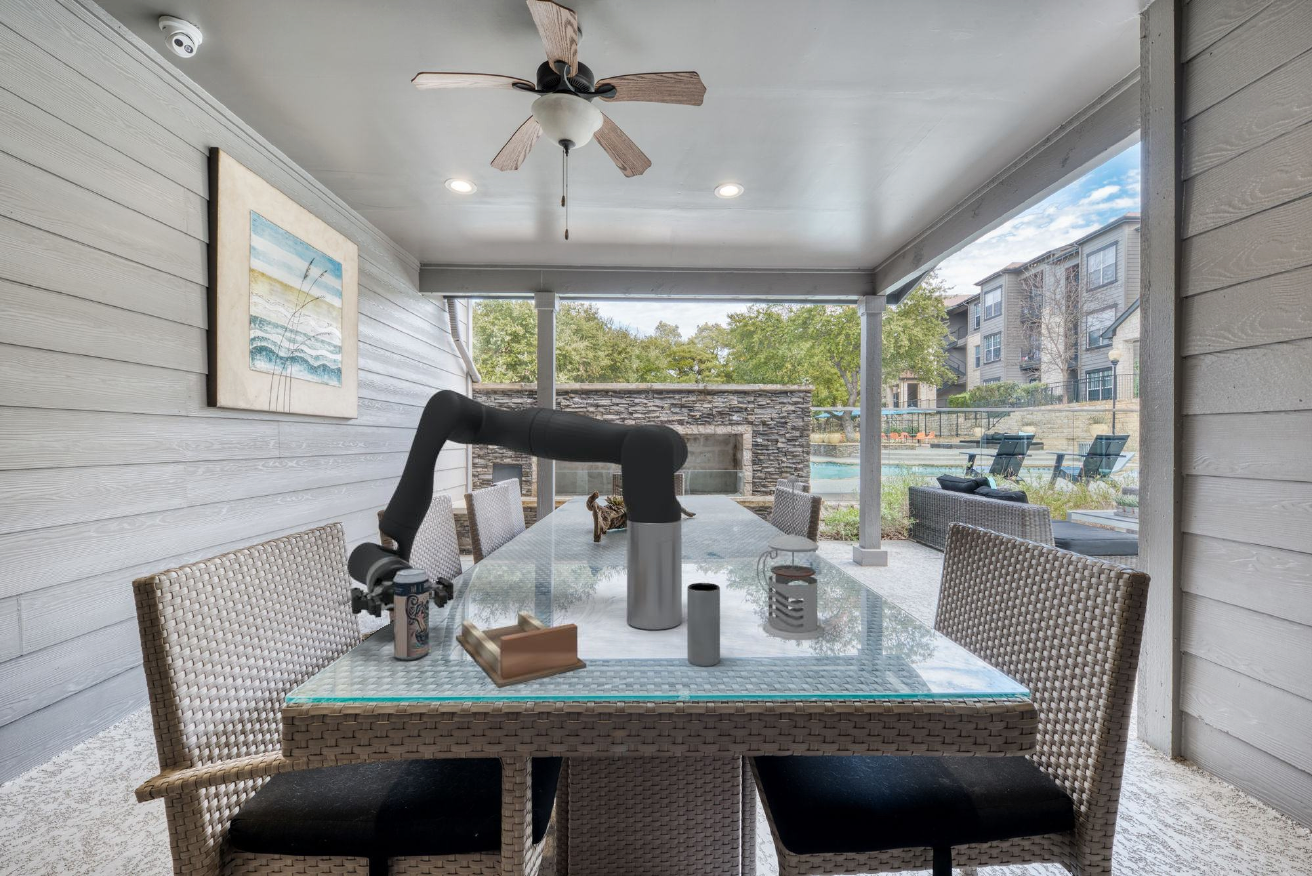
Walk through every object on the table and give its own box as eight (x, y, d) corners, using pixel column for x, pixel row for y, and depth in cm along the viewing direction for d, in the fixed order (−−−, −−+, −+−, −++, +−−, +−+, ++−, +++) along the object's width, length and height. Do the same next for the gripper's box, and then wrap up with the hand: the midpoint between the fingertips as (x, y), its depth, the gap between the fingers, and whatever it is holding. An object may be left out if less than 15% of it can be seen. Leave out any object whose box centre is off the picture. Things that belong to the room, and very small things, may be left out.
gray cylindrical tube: (723, 656, 83) (723, 584, 83) (715, 668, 79) (715, 592, 79) (692, 652, 85) (692, 581, 85) (683, 664, 81) (683, 589, 81)
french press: (800, 644, 88) (800, 478, 88) (741, 626, 97) (741, 474, 97) (836, 630, 95) (836, 475, 95) (777, 614, 103) (777, 472, 103)
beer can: (416, 662, 81) (416, 576, 81) (385, 660, 82) (385, 574, 82) (436, 650, 86) (436, 568, 86) (407, 648, 87) (406, 567, 87)
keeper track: (455, 638, 91) (455, 603, 91) (530, 625, 97) (530, 592, 97) (498, 687, 73) (498, 643, 73) (586, 667, 80) (586, 626, 80)
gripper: (344, 565, 94) (355, 586, 81) (437, 555, 102) (461, 573, 88) (345, 612, 94) (356, 641, 81) (437, 598, 102) (462, 623, 88)
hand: (411, 605), depth 84 cm, fingers open, 8 cm apart
